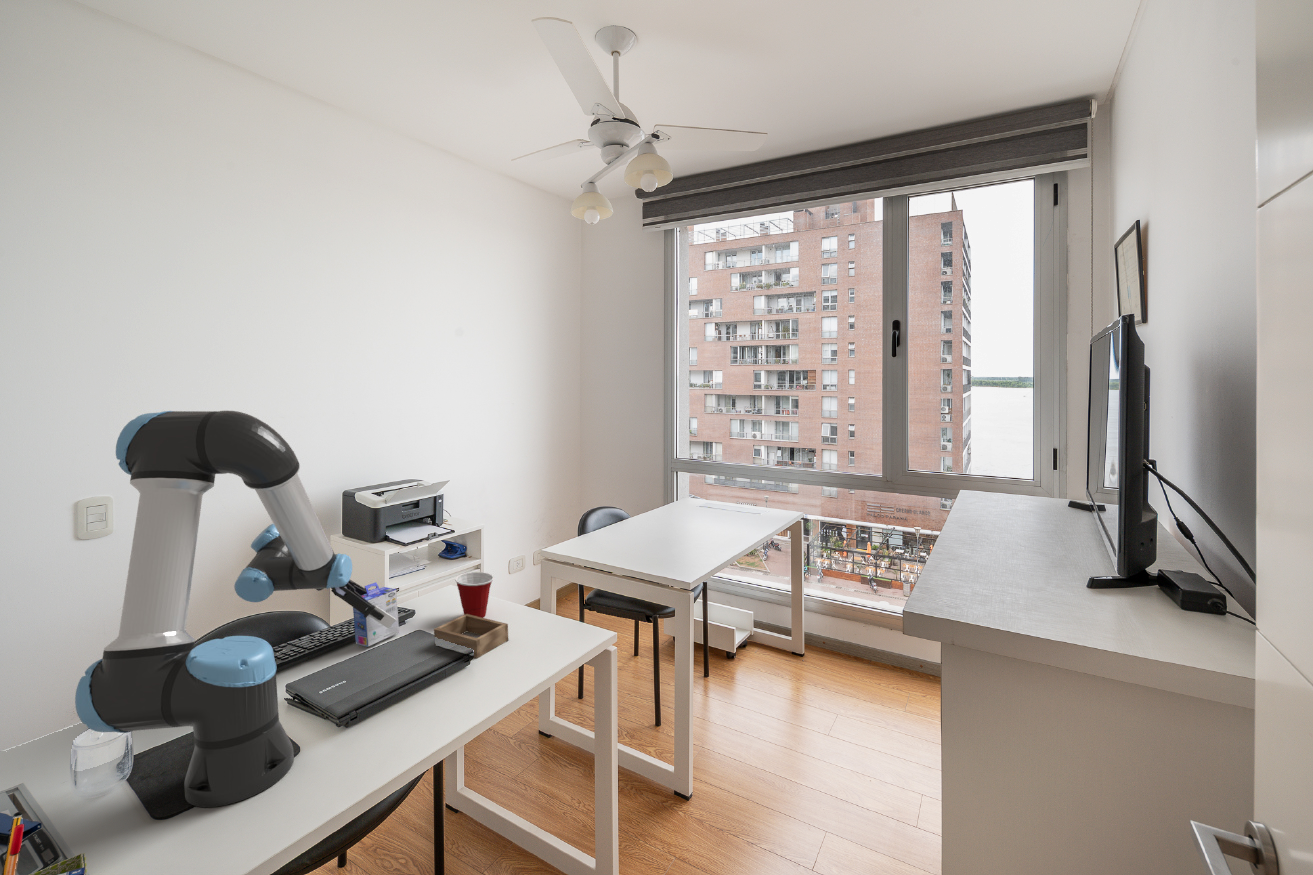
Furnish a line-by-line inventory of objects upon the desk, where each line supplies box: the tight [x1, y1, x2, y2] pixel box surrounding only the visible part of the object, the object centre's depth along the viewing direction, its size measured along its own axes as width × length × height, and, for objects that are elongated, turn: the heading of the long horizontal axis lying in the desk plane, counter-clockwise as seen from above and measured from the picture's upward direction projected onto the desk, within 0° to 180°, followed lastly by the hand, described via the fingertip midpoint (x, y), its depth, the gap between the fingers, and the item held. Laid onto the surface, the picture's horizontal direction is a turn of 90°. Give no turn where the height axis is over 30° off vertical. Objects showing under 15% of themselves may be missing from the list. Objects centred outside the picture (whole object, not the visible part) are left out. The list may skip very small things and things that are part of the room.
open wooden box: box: [433, 614, 509, 659], centre depth 147 cm, size 11×15×4 cm
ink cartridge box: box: [352, 582, 400, 648], centre depth 149 cm, size 10×6×14 cm, turn 155°
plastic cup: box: [454, 571, 495, 618], centre depth 164 cm, size 11×11×12 cm
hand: (389, 617), depth 151 cm, fingers closed on ink cartridge box, 9 cm apart
